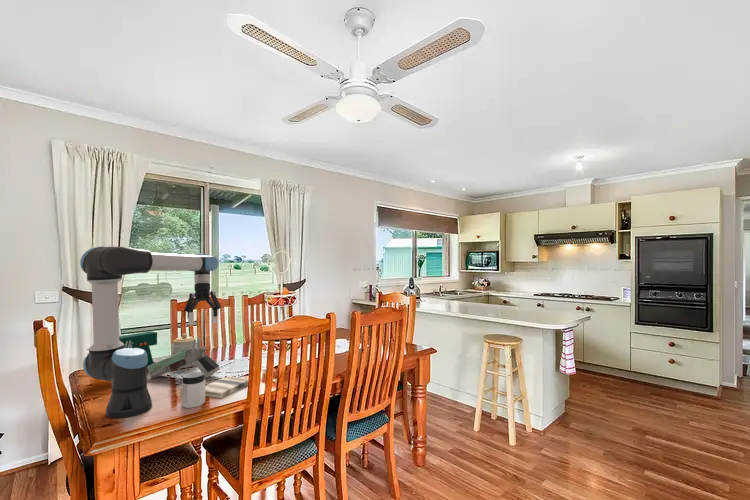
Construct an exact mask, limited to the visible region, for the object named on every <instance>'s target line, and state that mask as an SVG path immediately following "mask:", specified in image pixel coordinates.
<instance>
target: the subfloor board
mask: <svg viewBox="0 0 750 500" xmlns="http://www.w3.org/2000/svg"><path fill="white" fill-rule="evenodd" d="M248 379H249V378H245V377H237V376H236V377H235V376H228V375H227V376H225V377H222V378H219V379H217V380H215V381H212V382H210V383H208V384H205V397H211V398H218V399H222V398H224V397H226V396H229V395H230V394H232V393H234V392H236V391H238V390H240V389H243V388H244V387H247V386H248Z"/></svg>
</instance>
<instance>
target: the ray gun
mask: <svg viewBox="0 0 750 500" xmlns="http://www.w3.org/2000/svg"><path fill="white" fill-rule="evenodd" d="M196 342H197V344H196ZM206 350H207V346H205V345H203V346H201V337H198V338H197V340H196V339H195V340H193V345H192V348H190V349H186V350H183V351H181V352H180V353H178V354H175V355H173V356H168V357H167V358H163V359H161V360H159V361H157V362H156V361H155V362H156V363H154V364H151V365H149V366H147V368H148V371H149V372H148V373H149V377H150V378H151V380H152V379H155V378H158V377H160V376H162V375H165V374H167V373H169V372H172V371H174V370H177V369H180V368H179V367H182V366H184V365H187V364H189V363H190V364H191V365H192V366H191V367H194V366H196V367H197V368H198V369H199V372H203V373H204V376H205V378H204V379H205V380H206V379H207V378H209V377H210V376H213V375H214V374H215V373H217V372H218V371H220V364H218V363H217V362H216V361H215V360H214V359H212V358H211V357H210V356H208V355H207V354H206V352H205V351H206ZM192 362H194V363H195V365H193V364H192Z"/></svg>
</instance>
